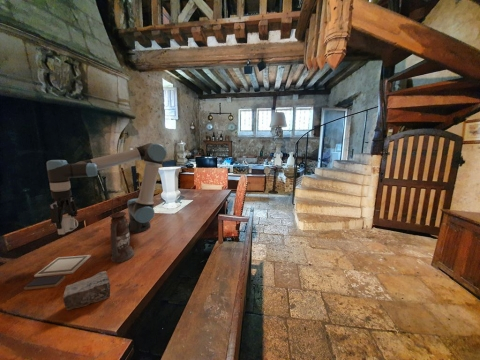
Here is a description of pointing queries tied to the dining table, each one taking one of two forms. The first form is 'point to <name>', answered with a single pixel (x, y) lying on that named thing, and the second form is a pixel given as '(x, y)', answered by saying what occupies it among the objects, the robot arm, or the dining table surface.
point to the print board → (63, 266)
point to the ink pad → (45, 282)
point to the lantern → (117, 230)
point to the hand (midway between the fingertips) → (67, 230)
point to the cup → (68, 222)
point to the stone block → (87, 291)
